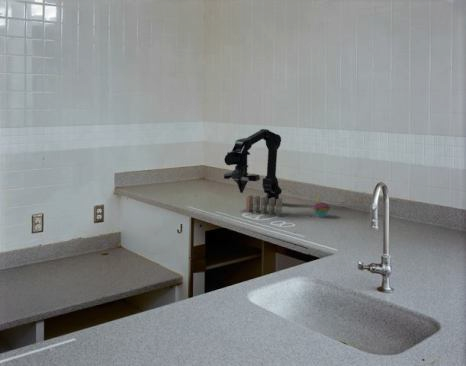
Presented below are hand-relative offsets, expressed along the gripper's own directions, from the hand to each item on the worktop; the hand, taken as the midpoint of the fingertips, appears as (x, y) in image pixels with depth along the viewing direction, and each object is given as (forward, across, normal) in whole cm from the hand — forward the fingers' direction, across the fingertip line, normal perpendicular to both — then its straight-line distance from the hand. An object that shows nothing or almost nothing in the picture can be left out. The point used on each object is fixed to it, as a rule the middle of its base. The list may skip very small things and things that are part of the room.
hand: (241, 192), depth 295 cm
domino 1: (+9, +5, 0) cm, 11 cm away
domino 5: (+9, +22, 0) cm, 24 cm away
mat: (+10, +13, 0) cm, 16 cm away
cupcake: (+10, +42, +7) cm, 44 cm away
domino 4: (+9, +18, 0) cm, 20 cm away
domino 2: (+9, +9, 0) cm, 13 cm away
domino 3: (+9, +13, 0) cm, 16 cm away
